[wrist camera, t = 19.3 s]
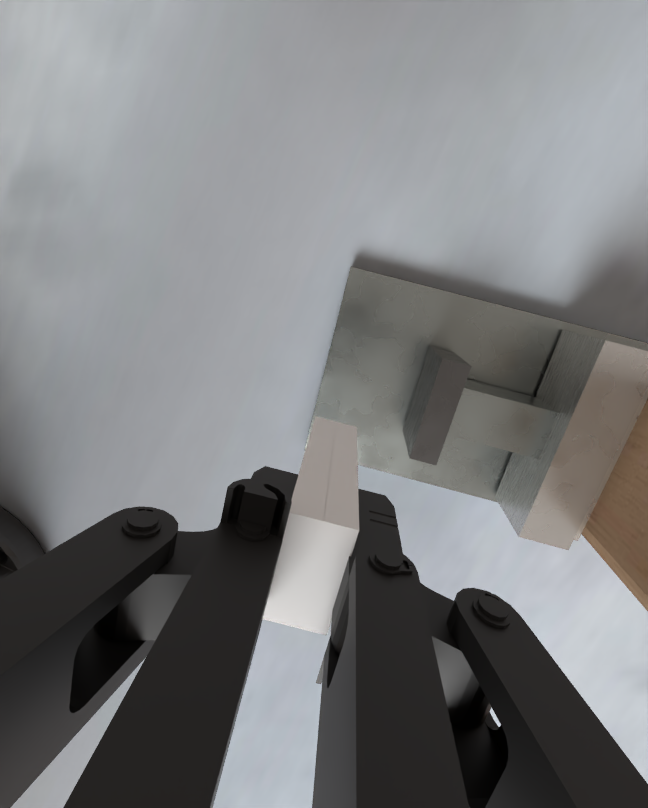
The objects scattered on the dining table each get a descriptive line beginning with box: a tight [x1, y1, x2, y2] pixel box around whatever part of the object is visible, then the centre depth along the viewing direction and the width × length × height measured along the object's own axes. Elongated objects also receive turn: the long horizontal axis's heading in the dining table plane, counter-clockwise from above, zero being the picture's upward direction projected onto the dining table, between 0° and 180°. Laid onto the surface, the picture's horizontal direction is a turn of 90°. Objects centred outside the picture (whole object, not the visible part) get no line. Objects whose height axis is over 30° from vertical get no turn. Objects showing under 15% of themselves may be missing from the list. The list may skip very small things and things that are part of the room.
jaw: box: [402, 330, 648, 550], centre depth 26 cm, size 11×12×5 cm
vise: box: [305, 267, 648, 502], centre depth 27 cm, size 31×13×6 cm, turn 76°
